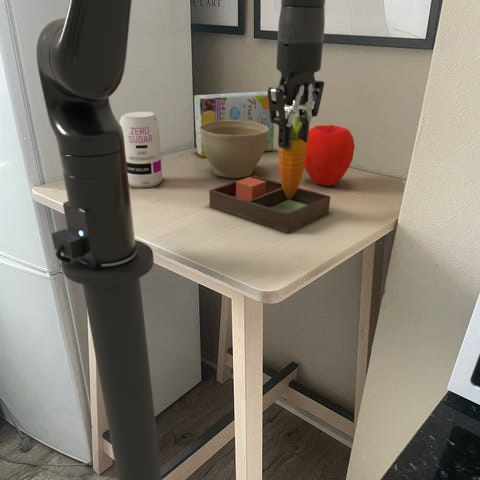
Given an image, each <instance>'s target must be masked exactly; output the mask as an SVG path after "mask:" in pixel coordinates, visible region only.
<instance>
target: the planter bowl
mask: <svg viewBox="0 0 480 480" xmlns="http://www.w3.org/2000/svg"><path fill="white" fill-rule="evenodd" d="M268 130H269V129H268V127H266V126H265V125H262V124H259V123H254V122H247V121H235V120H225V121H213V122H208V123H204V124H202V125H201V126H200V132H201V140H202V146H203V149H204V152H205V155H206V157H205V158H206V159H207V161H208V162H209V164H210V165H211V167H212V169H213V173H214V174H215V175H216V176H219V177H222V178H227V179H243V178H247V177H250V176H252V175H253V172H254V168H255V167H256V166H258V164H259V162H260V160H261V159H262V157H263V155H264V152H265V151H264V150H265V146H266V141H267V135H268Z"/></svg>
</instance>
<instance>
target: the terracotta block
mask: <svg viewBox="0 0 480 480" xmlns="http://www.w3.org/2000/svg"><path fill="white" fill-rule="evenodd" d="M248 177H249V178H247V177H245V178H246V179H244V178H242V179H243V180H241V179H239V180H240V181H238V180H236V181H237V182H236V197H237V198H240V199H243V200H246V201H249V200H251V199H254V198H256V197H259V196H262V195H264V194H266V181H262V180H259V179H255V178H251V177H250V176H248Z"/></svg>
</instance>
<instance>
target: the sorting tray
mask: <svg viewBox="0 0 480 480" xmlns="http://www.w3.org/2000/svg"><path fill="white" fill-rule="evenodd" d="M249 177H251V178H255V179H259V180H262V181H266V194H264V195H262V196H259V197H256V198H254V199H251V200H249V201H246V200H243V199H240V198H237V197H236V182H237V181H240V180H243V179H246V178H249ZM208 193H209V208H211V209H214V210H217V211H220V212H223V213H225V214H229V215H232V216H235V217H238V218H240V219H243V220H247V221H250V222H252V223H256V224H259V225H261V226H263V227H267V228H269V229H273V230H276V231H279V232H282V233H284V234H290V233H291V232H293V231H295V230H298V229H300V228H302V227H304V226H306V225H307V224H309V223H312V222H314V221H316V220H318V219H320V218H322V217H324V216H326V215H328V214H329V213H330V205H331V204H330V203H331V195H328V194H324V193H320V192H317V191H313V190H309V189H307V188H302V187H298V188H297V191H296V192H295V194H294V196H293V197H292V198H291V199H290V200H289V199H288V198H287V197H286V195H285V193H284V191H283V188H282V184H281V181H280V182H279V181H276V180H272V179H269V178H264V177H261V176H258V175H255V174H252V175H250V176H247V177H243V178H240V179H239V180H238V179H237V180H235V181H232V182H229V183H226V184H223V185H220V186H218V187H214V188H212V189H209V192H208Z"/></svg>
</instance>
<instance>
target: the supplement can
mask: <svg viewBox="0 0 480 480" xmlns="http://www.w3.org/2000/svg"><path fill="white" fill-rule="evenodd" d="M118 123H119V125H120V126H121V128H122V130H123V135H124V144H125V154H126V164H127V173H128V182H129V186H131V187H134V188H140V189H141V188H152V187H156V186H159V184H160V183H161V182H162V181H163V172H162V158H161V144H160V130H159V129H160V128H159V120H158V119H157V117H156V114H155V113H154V112H153V111H147V110H133V111H126V112H123V113H121V117H120V119H119V121H118Z"/></svg>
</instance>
